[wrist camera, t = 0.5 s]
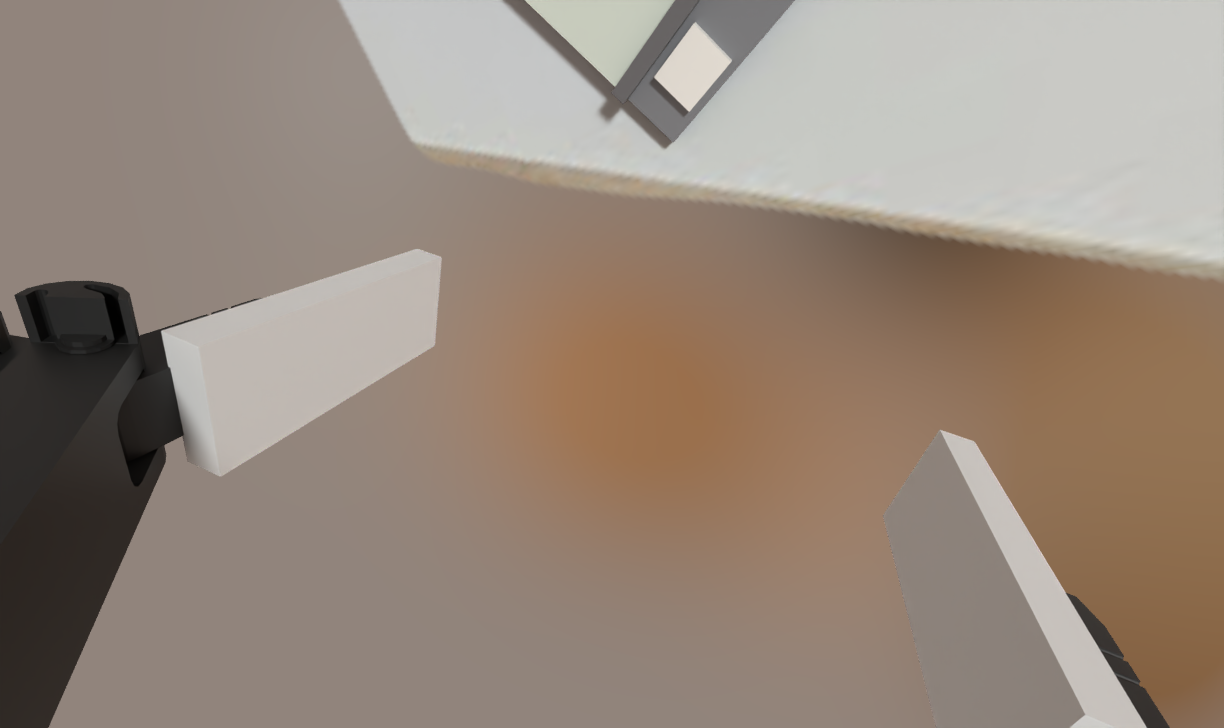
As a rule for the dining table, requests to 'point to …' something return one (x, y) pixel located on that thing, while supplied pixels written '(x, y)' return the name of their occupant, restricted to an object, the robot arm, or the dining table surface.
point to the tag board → (663, 47)
